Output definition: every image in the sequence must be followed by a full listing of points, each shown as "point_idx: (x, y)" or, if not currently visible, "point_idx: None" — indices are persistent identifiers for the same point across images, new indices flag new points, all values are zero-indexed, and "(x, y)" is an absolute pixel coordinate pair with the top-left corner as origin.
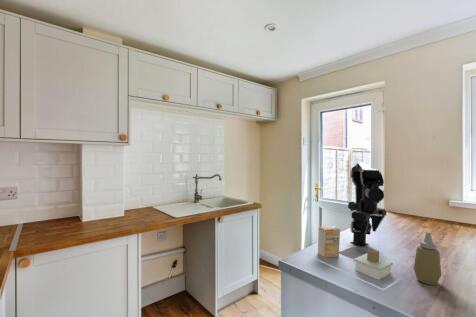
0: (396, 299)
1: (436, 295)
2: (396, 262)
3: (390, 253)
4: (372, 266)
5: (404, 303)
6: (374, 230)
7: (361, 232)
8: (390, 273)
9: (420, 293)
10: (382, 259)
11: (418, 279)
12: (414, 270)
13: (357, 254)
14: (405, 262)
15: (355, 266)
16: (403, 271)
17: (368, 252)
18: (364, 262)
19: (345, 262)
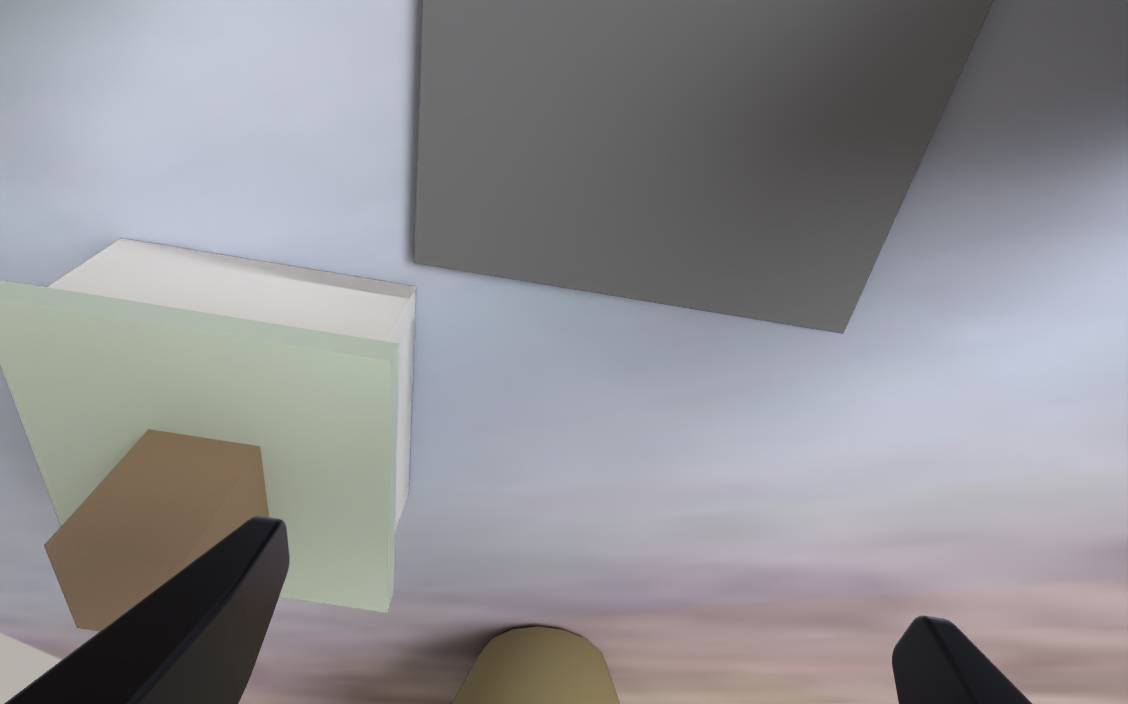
0: (48, 575)
1: (364, 698)
2: (798, 481)
3: (1114, 386)
4: (54, 505)
5: (58, 607)
6: (909, 672)
7: (203, 563)
8: (405, 502)
9: (295, 649)
10: (369, 536)
11: (491, 642)
12: (488, 684)
13: (678, 61)
14: (868, 535)
15: (81, 265)
16: (593, 550)
17: (72, 530)
18: (41, 427)
19: (219, 28)
